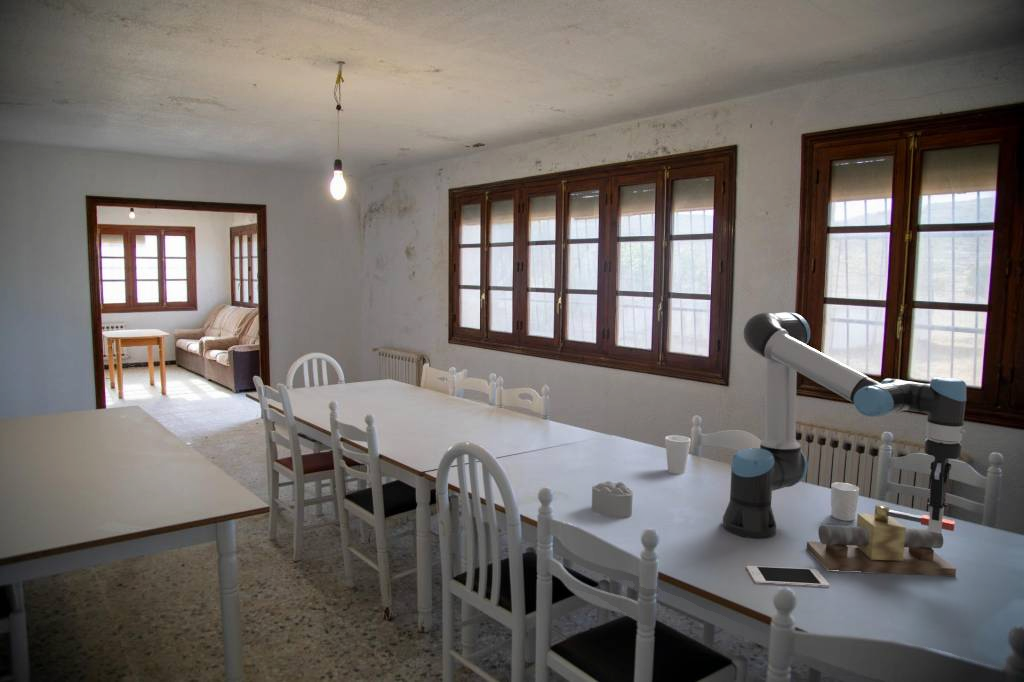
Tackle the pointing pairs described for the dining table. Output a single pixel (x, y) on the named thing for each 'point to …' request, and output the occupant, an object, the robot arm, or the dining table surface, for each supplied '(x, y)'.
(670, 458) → the foam cup
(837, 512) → the white cup
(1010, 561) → the dining table surface
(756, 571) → the cell phone
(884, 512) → the valve lever
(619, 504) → the lumpy-topped squat cylinder
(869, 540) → the pipe rig
